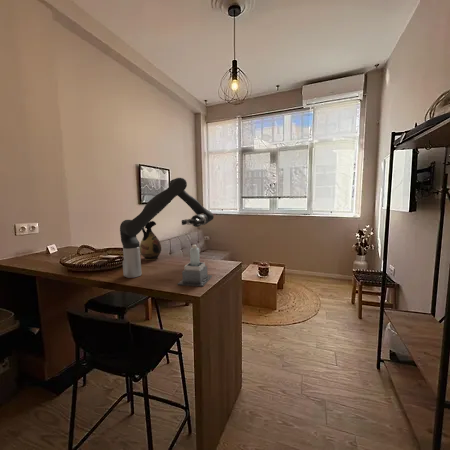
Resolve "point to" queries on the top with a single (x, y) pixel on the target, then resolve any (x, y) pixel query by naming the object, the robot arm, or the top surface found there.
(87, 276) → the top surface
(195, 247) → the bottle
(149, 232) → the ceramic jug
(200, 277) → the grey socket base
